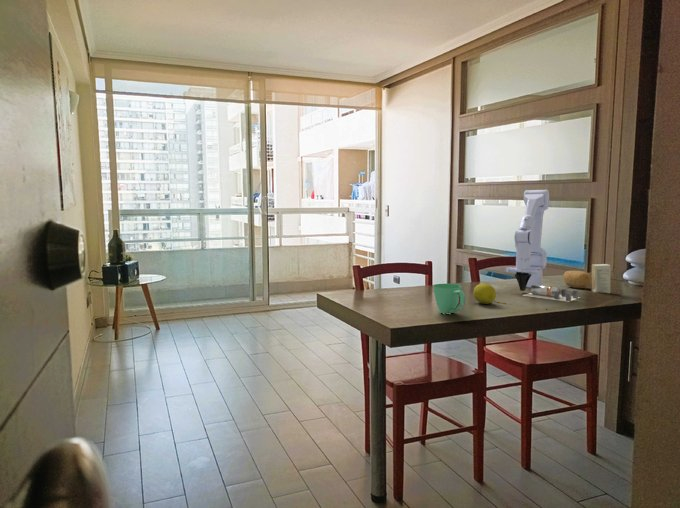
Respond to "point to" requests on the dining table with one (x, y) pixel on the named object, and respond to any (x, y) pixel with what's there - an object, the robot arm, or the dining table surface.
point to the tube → (543, 290)
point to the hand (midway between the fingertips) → (522, 290)
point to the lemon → (484, 293)
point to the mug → (449, 297)
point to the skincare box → (601, 278)
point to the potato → (577, 279)
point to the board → (549, 297)
